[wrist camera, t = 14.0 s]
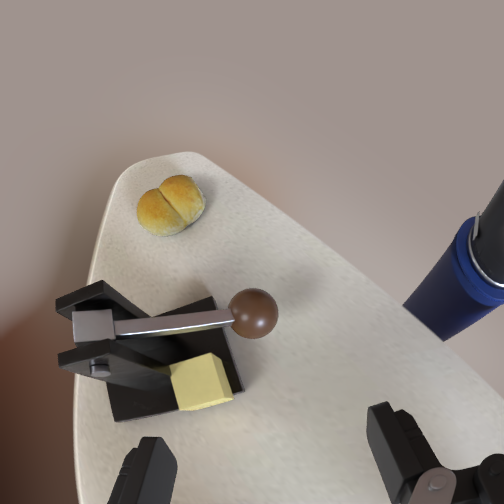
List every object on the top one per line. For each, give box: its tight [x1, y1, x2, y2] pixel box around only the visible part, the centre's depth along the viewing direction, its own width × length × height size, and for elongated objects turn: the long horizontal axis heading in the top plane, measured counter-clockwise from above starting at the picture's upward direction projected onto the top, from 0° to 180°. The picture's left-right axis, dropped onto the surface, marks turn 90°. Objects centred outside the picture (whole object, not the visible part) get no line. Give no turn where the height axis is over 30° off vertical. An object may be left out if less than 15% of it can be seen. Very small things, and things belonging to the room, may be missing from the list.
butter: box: [169, 353, 234, 411], centre depth 23 cm, size 4×4×4 cm
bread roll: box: [137, 175, 206, 236], centre depth 36 cm, size 8×9×4 cm
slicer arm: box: [72, 288, 278, 348], centre depth 20 cm, size 15×4×4 cm
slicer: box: [56, 280, 245, 422], centre depth 21 cm, size 14×10×14 cm
